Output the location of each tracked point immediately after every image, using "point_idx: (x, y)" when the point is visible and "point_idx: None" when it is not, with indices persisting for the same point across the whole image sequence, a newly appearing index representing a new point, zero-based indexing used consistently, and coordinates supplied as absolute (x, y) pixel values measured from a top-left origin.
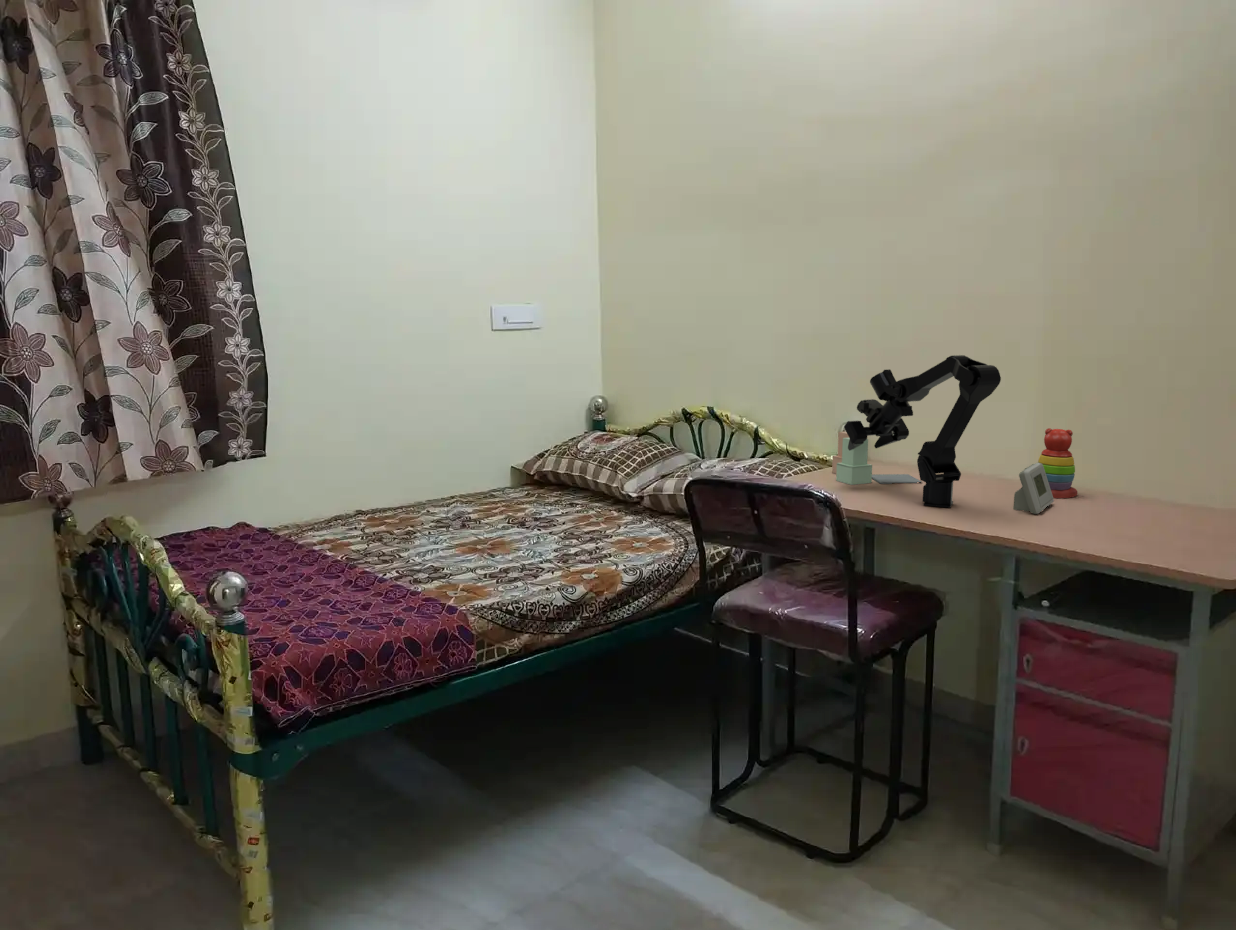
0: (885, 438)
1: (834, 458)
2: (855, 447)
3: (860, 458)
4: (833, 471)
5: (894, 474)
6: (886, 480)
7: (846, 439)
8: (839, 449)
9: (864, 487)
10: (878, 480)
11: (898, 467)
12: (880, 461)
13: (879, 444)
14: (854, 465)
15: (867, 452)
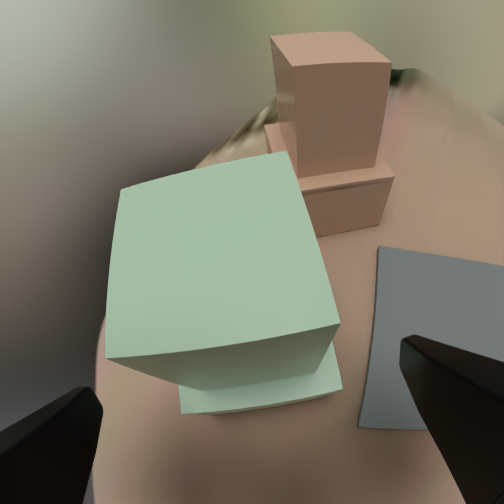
0: (498, 484)
1: (266, 139)
2: (75, 498)
3: (252, 378)
4: None
5: (472, 264)
6: (405, 389)
7: (117, 238)
8: (280, 111)
9: (239, 480)
10: (370, 385)
11: (487, 155)
12: (448, 99)
13: (431, 414)
14: (212, 389)
15: (321, 358)
